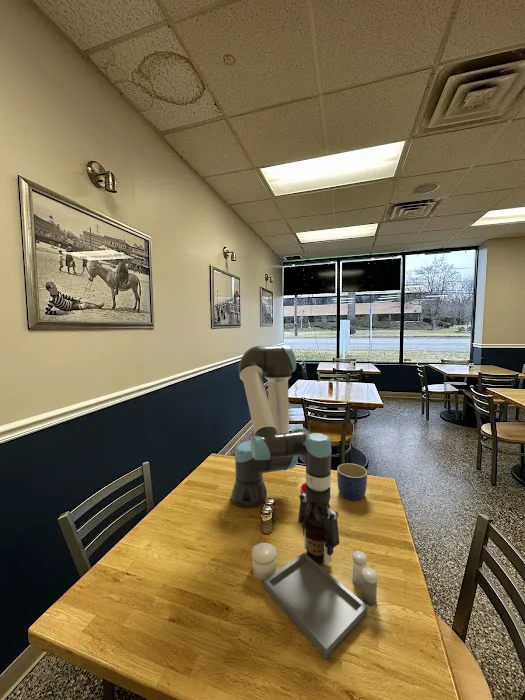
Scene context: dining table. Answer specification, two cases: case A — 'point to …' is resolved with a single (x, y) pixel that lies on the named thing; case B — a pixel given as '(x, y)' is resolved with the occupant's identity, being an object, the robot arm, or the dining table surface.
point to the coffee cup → (315, 539)
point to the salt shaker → (358, 566)
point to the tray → (316, 603)
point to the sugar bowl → (264, 560)
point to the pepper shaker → (369, 586)
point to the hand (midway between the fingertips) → (317, 554)
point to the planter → (352, 480)
